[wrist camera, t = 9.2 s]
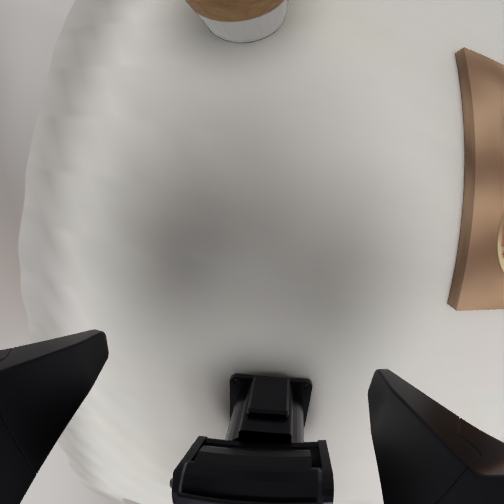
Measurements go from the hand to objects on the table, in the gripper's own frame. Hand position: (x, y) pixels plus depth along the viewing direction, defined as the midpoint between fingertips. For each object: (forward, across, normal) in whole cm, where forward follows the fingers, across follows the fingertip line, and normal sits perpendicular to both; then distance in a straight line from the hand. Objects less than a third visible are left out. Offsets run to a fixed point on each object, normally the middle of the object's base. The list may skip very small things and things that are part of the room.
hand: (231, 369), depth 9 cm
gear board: (+12, -21, -9) cm, 25 cm away
